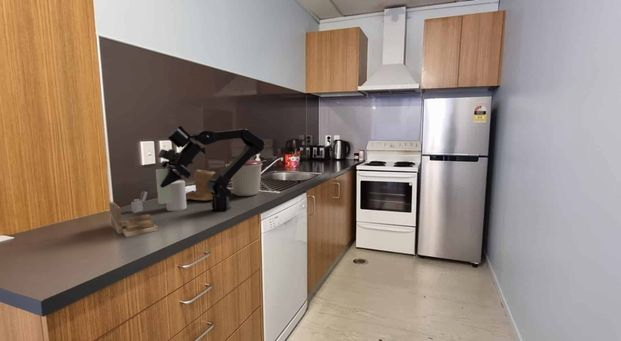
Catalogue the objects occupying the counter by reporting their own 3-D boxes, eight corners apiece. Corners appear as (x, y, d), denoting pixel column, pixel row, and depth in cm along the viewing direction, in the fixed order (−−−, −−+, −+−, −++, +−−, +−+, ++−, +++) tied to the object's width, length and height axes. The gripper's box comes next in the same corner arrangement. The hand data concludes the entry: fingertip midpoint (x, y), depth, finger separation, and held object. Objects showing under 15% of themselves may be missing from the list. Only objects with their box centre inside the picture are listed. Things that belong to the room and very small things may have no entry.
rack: (144, 220, 123) (143, 197, 122) (158, 230, 110) (156, 205, 109) (111, 226, 116) (109, 202, 114) (122, 237, 103) (119, 210, 102)
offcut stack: (150, 224, 113) (150, 213, 113) (154, 226, 110) (153, 215, 110) (125, 229, 108) (124, 217, 108) (128, 232, 105) (127, 220, 105)
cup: (189, 206, 144) (188, 180, 143) (180, 211, 136) (179, 183, 135) (172, 206, 145) (171, 180, 143) (163, 210, 137) (160, 183, 135)
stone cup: (222, 198, 160) (220, 169, 158) (205, 203, 149) (203, 172, 147) (199, 195, 166) (198, 167, 164) (181, 200, 156) (179, 170, 154)
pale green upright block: (169, 201, 124) (166, 168, 122) (171, 202, 122) (169, 169, 120) (158, 202, 122) (155, 169, 120) (160, 204, 119) (158, 170, 118)
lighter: (134, 212, 134) (133, 194, 133) (131, 212, 135) (130, 193, 134) (148, 208, 141) (147, 191, 140) (146, 208, 141) (144, 190, 140)
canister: (237, 190, 180) (236, 153, 177) (268, 191, 176) (267, 153, 173) (222, 197, 162) (220, 156, 159) (256, 198, 159) (254, 156, 156)
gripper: (163, 141, 128) (135, 170, 122) (180, 142, 114) (149, 175, 108) (184, 158, 134) (158, 187, 129) (202, 162, 121) (174, 194, 115)
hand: (159, 186), depth 120 cm, fingers closed on pale green upright block, 3 cm apart
